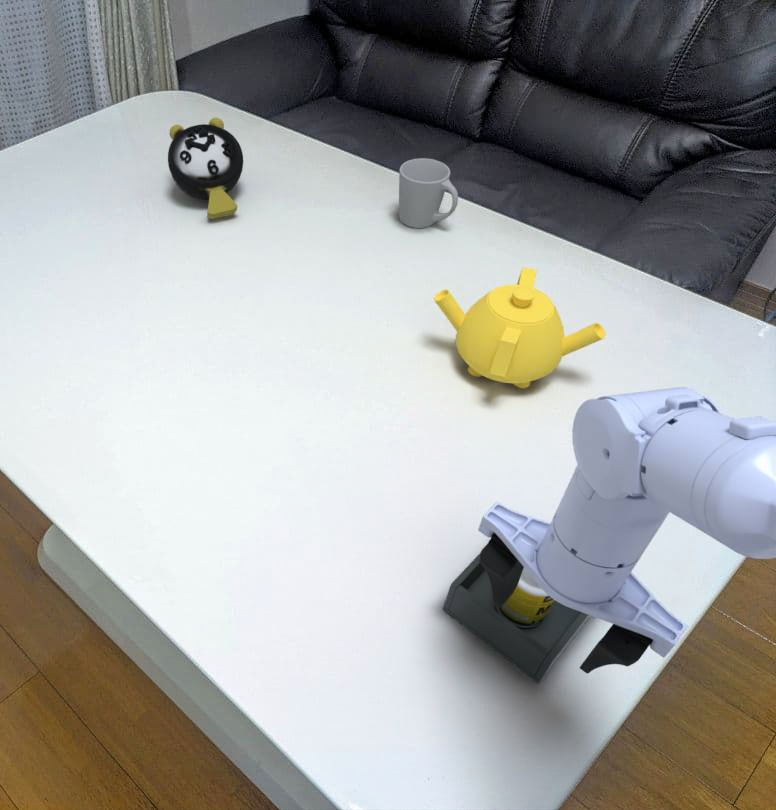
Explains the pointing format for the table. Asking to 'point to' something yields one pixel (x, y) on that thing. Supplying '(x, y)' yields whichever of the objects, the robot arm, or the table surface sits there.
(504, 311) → the teapot
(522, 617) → the supplement bottle
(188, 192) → the alarm clock
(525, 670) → the storage tray
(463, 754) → the table surface
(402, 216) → the cup
